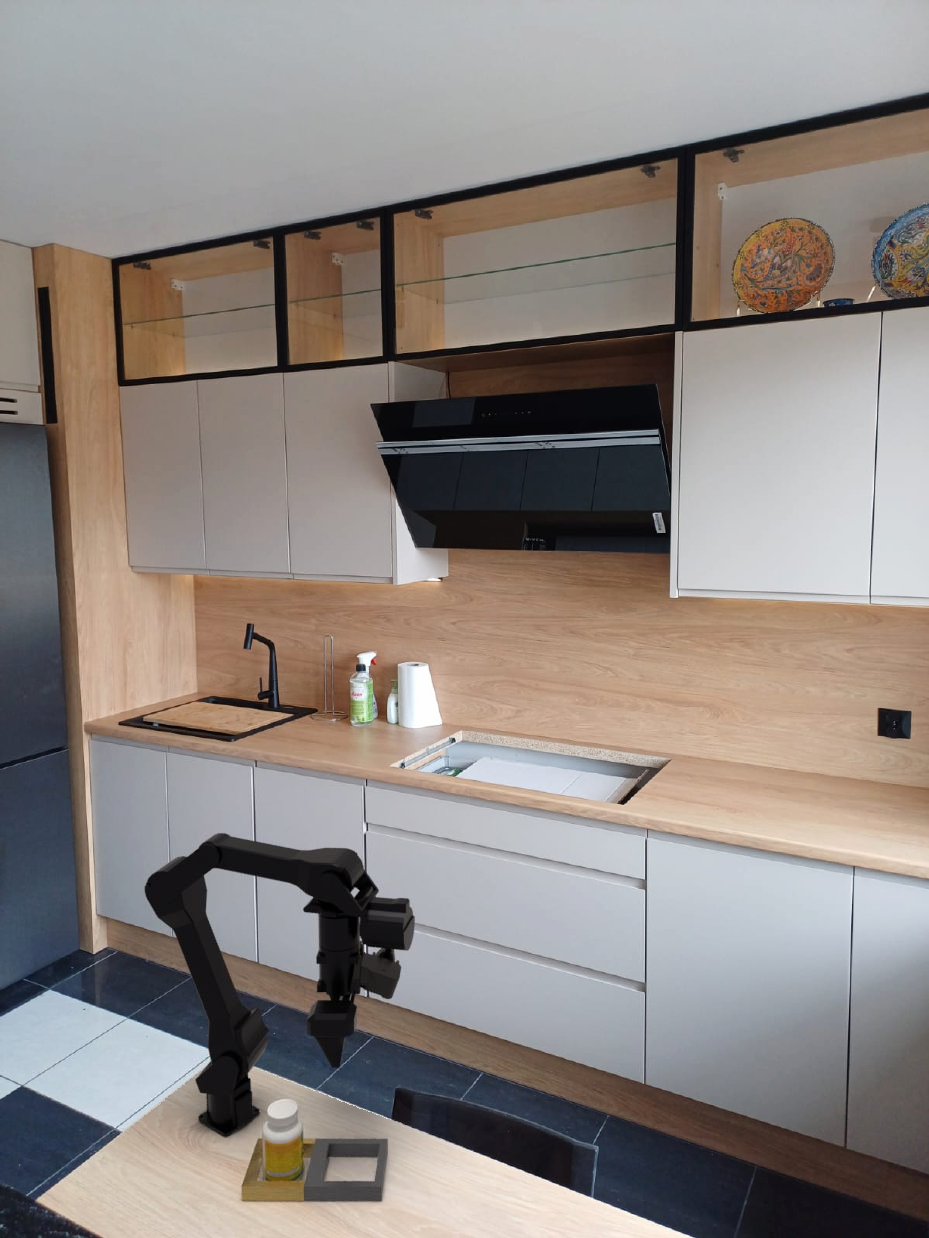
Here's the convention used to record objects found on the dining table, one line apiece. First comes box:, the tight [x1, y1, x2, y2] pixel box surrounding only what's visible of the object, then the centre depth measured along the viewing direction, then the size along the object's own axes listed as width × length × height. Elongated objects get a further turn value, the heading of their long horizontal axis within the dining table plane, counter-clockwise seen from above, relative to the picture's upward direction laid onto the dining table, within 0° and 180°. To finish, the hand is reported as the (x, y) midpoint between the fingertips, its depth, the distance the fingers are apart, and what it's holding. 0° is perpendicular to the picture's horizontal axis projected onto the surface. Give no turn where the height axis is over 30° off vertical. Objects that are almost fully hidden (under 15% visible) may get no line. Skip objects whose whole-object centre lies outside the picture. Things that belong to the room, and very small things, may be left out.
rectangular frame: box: [240, 1137, 389, 1202], centre depth 117 cm, size 18×9×2 cm, turn 90°
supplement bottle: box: [261, 1098, 305, 1181], centre depth 117 cm, size 5×5×10 cm
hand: (340, 1047), depth 124 cm, fingers open, 9 cm apart
